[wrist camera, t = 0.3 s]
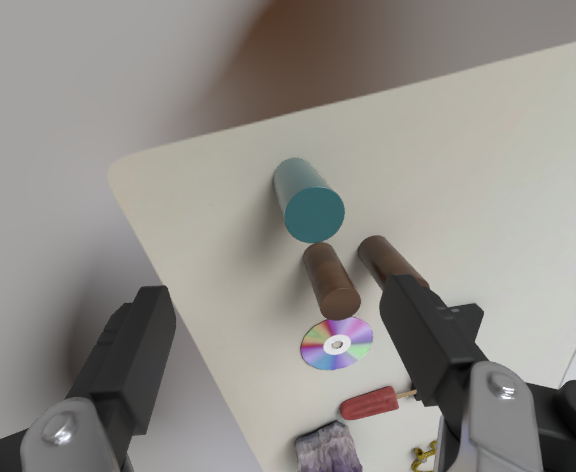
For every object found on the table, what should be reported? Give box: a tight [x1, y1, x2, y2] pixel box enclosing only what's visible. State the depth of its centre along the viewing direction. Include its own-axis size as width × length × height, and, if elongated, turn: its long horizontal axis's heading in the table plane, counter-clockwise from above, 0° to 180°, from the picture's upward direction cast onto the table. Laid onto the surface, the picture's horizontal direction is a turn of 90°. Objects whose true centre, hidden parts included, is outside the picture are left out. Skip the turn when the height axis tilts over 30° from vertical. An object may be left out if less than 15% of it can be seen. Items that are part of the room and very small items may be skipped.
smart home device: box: [411, 303, 484, 401], centre depth 46 cm, size 8×2×20 cm
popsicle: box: [340, 386, 417, 420], centre depth 49 cm, size 4×2×15 cm
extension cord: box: [412, 441, 437, 472], centre depth 63 cm, size 12×16×2 cm
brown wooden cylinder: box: [303, 242, 361, 321], centre depth 30 cm, size 4×4×9 cm
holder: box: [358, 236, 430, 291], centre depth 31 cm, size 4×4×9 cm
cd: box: [301, 317, 372, 370], centre depth 42 cm, size 11×11×1 cm
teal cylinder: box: [273, 158, 345, 243], centre depth 25 cm, size 5×5×10 cm
